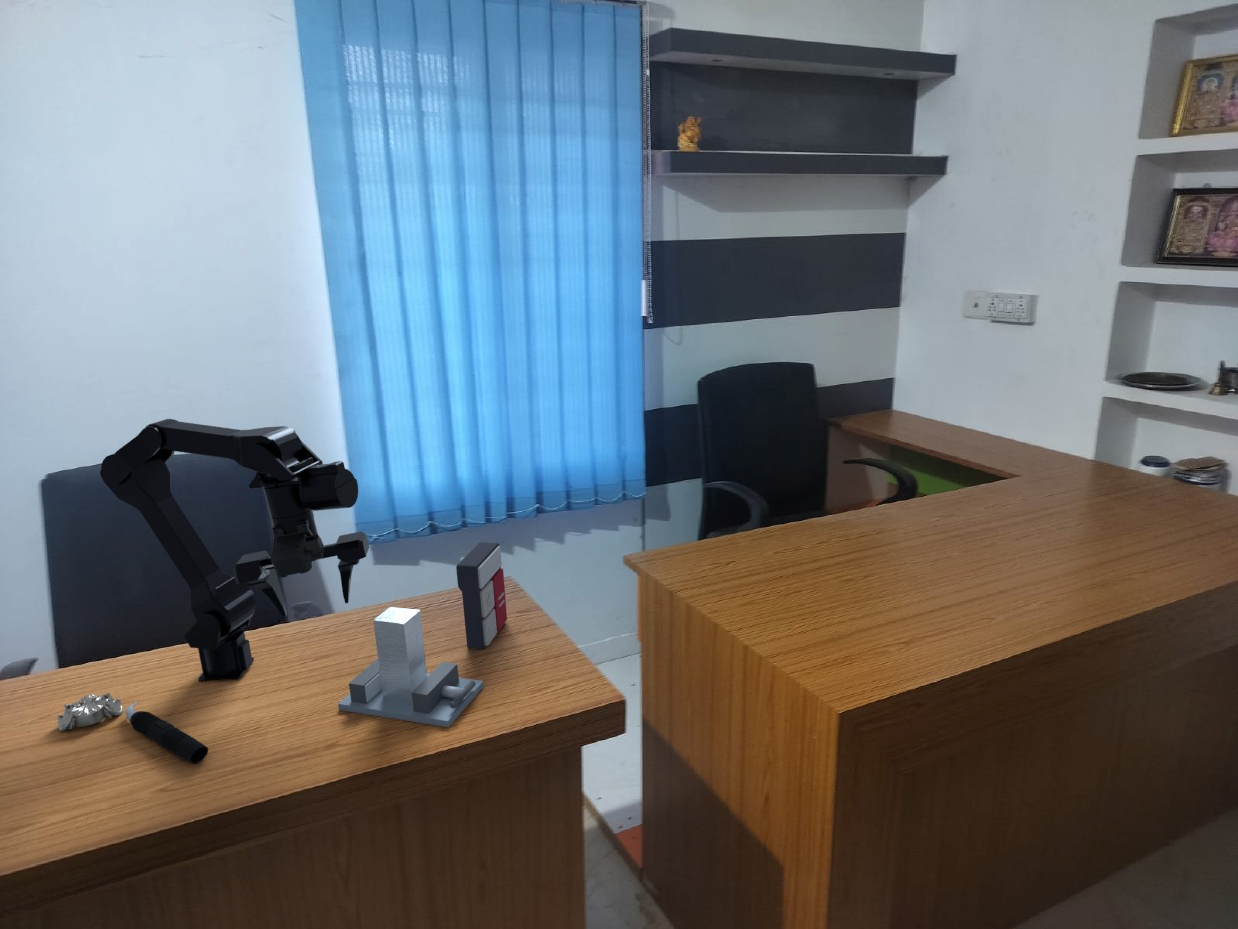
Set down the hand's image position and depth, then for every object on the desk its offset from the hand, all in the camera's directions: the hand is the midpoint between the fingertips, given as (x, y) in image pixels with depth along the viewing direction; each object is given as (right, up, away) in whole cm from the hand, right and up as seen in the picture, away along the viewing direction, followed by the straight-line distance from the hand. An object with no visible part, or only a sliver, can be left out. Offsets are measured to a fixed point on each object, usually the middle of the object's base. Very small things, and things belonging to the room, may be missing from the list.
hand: (316, 609), depth 126 cm
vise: (+15, -13, -3) cm, 20 cm away
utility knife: (-18, -17, -10) cm, 26 cm away
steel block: (+14, -12, -3) cm, 19 cm away
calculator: (+23, -7, +16) cm, 30 cm away
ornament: (-31, -16, -5) cm, 35 cm away
